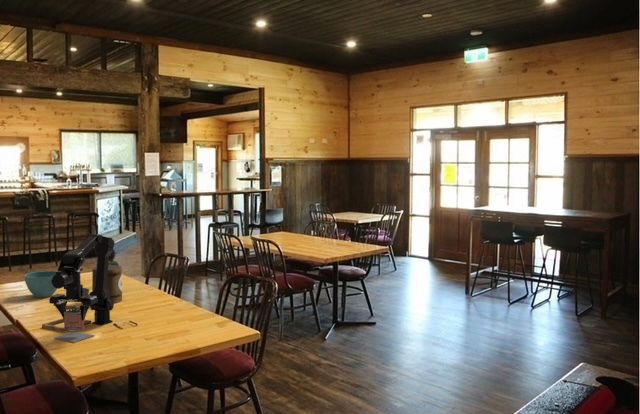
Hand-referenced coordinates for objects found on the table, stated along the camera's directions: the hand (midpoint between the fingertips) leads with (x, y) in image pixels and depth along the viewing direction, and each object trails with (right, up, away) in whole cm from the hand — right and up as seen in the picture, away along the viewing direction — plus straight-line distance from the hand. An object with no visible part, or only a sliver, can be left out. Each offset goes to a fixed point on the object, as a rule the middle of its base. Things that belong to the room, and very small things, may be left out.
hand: (74, 319), depth 229 cm
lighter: (0, -4, 0) cm, 4 cm away
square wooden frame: (-11, -6, +17) cm, 21 cm away
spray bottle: (-17, -2, +83) cm, 84 cm away
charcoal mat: (0, -8, 0) cm, 8 cm away
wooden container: (-10, -3, +62) cm, 63 cm away
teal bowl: (-49, -2, +72) cm, 87 cm away
